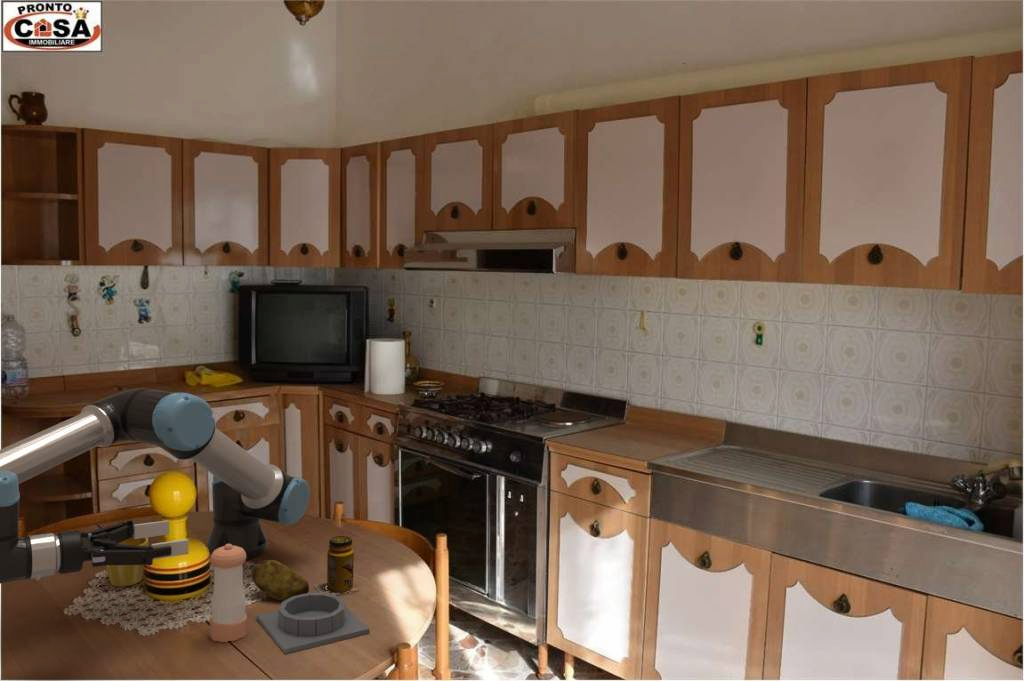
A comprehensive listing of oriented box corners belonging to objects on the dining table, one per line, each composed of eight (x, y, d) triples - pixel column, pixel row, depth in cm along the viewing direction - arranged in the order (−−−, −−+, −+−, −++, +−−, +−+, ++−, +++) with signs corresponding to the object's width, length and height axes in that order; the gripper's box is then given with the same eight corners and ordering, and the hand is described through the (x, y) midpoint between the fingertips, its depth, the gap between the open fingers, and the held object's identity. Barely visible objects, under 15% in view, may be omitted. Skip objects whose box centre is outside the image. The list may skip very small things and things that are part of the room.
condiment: (359, 590, 199) (360, 541, 198) (324, 598, 195) (325, 547, 193) (347, 580, 205) (347, 531, 204) (313, 586, 201) (313, 537, 199)
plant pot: (91, 584, 198) (90, 543, 197) (129, 569, 207) (128, 530, 206) (121, 593, 193) (120, 552, 192) (159, 578, 202) (158, 539, 201)
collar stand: (256, 619, 183) (256, 599, 182) (335, 601, 193) (336, 582, 192) (285, 654, 168) (285, 632, 167) (369, 633, 178) (369, 612, 177)
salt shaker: (202, 638, 173) (201, 547, 171) (226, 623, 180) (226, 536, 178) (231, 645, 171) (230, 553, 169) (254, 630, 177) (254, 541, 175)
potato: (287, 609, 188) (287, 575, 187) (245, 596, 194) (245, 562, 193) (313, 597, 195) (313, 563, 194) (272, 584, 201) (272, 551, 200)
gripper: (45, 553, 164) (160, 537, 177) (68, 596, 145) (196, 575, 157) (45, 515, 164) (161, 502, 177) (68, 553, 144) (197, 535, 157)
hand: (178, 536), depth 167 cm, fingers open, 13 cm apart
